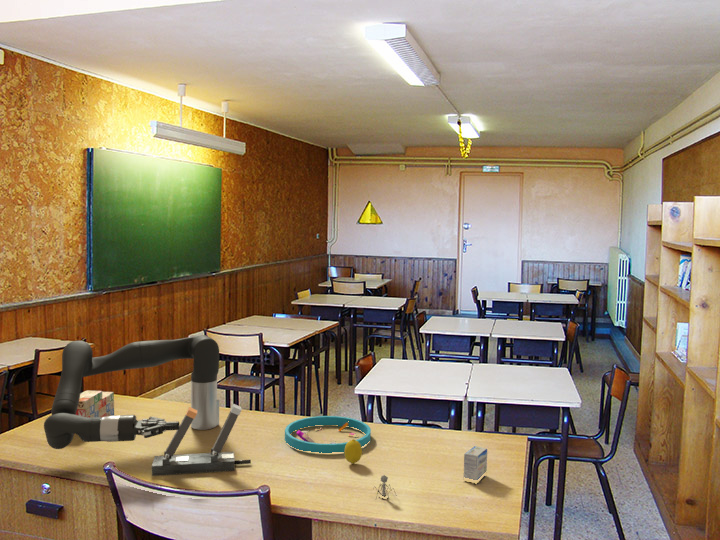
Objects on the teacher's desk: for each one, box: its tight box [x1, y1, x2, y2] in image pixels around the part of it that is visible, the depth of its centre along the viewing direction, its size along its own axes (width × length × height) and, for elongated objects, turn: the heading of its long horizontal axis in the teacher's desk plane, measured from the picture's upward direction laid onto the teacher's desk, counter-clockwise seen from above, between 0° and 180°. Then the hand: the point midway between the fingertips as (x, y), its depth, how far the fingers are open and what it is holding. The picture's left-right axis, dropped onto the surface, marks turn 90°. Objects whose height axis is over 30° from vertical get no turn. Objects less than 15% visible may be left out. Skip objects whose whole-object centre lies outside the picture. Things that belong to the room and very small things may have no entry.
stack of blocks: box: [76, 389, 115, 418], centre depth 229 cm, size 21×6×12 cm, turn 176°
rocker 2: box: [212, 403, 243, 455], centre depth 193 cm, size 3×4×17 cm, turn 13°
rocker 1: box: [165, 406, 197, 458], centre depth 190 cm, size 3×4×17 cm, turn 13°
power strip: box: [151, 447, 252, 477], centre depth 192 cm, size 29×8×5 cm, turn 102°
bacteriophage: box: [373, 474, 397, 500], centre depth 175 cm, size 7×8×7 cm
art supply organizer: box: [284, 415, 372, 453], centre depth 220 cm, size 30×30×6 cm
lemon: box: [343, 438, 363, 464], centre depth 198 cm, size 6×6×8 cm
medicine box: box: [463, 445, 488, 480], centre depth 189 cm, size 8×4×9 cm, turn 148°
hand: (179, 425), depth 189 cm, fingers closed
